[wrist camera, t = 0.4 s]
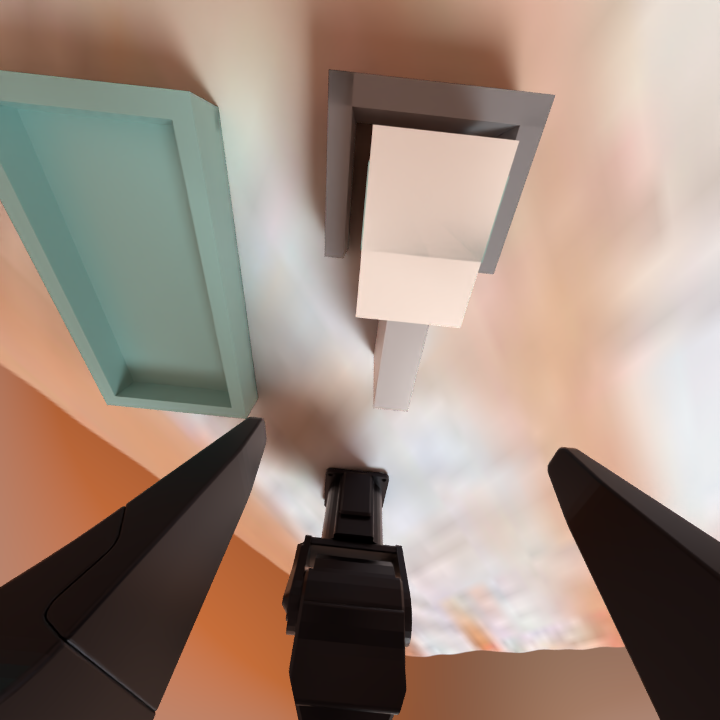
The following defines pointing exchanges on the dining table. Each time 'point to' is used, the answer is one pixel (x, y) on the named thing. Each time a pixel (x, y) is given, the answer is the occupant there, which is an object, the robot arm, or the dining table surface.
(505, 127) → the bay
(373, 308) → the teal striped block
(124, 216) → the tray
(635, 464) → the dining table surface
